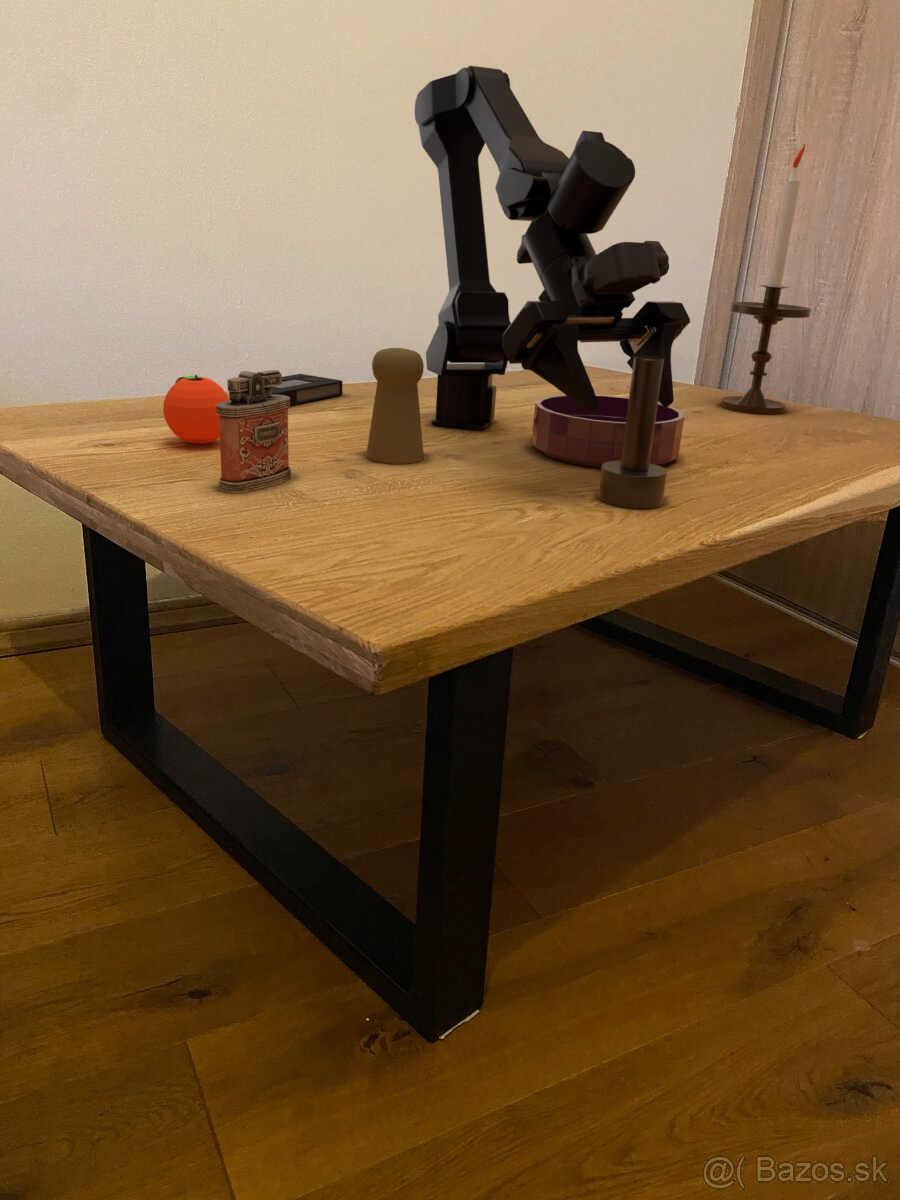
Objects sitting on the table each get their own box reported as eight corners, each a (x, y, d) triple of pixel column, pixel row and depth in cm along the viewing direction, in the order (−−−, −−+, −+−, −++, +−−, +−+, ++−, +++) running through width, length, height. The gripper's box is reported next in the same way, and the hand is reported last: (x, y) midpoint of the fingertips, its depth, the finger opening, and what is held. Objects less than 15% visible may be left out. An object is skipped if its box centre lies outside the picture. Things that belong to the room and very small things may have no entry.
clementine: (147, 439, 98) (142, 371, 96) (203, 431, 103) (200, 366, 100) (189, 454, 93) (185, 382, 91) (246, 445, 98) (244, 377, 95)
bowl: (522, 461, 98) (526, 414, 96) (541, 431, 113) (545, 389, 111) (677, 477, 95) (684, 429, 93) (677, 444, 110) (683, 402, 108)
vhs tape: (343, 395, 128) (343, 380, 127) (274, 409, 116) (274, 393, 115) (300, 388, 131) (300, 373, 130) (229, 401, 120) (228, 385, 119)
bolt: (595, 504, 85) (612, 358, 80) (600, 487, 90) (616, 350, 85) (662, 512, 83) (683, 365, 78) (663, 494, 89) (683, 356, 84)
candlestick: (798, 408, 138) (850, 147, 124) (780, 419, 129) (833, 139, 116) (726, 398, 143) (768, 146, 129) (704, 407, 134) (747, 139, 121)
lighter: (238, 495, 81) (234, 379, 77) (210, 487, 83) (205, 374, 79) (299, 477, 88) (298, 369, 84) (272, 470, 89) (270, 365, 85)
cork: (431, 454, 99) (436, 348, 95) (411, 466, 94) (415, 355, 89) (379, 447, 101) (382, 343, 96) (356, 458, 95) (358, 349, 91)
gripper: (532, 200, 77) (603, 355, 73) (691, 211, 87) (763, 349, 82) (473, 290, 86) (534, 433, 82) (623, 291, 96) (685, 419, 91)
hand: (632, 407), depth 84 cm, fingers open, 9 cm apart
